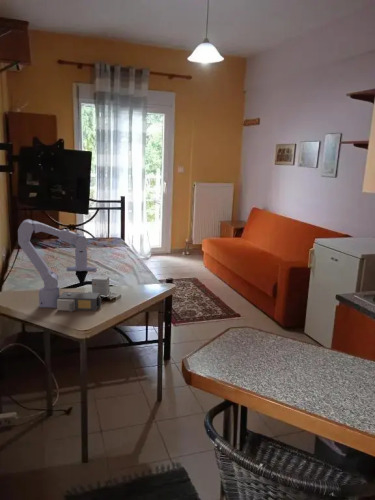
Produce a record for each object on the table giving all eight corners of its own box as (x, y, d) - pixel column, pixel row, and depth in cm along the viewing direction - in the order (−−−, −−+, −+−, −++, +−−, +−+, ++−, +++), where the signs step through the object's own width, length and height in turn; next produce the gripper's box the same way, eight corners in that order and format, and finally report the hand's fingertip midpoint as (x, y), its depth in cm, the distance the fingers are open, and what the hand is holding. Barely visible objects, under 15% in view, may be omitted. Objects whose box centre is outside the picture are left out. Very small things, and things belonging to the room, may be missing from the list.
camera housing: (58, 309, 195) (58, 296, 194) (64, 303, 204) (63, 290, 203) (98, 310, 195) (98, 297, 194) (102, 304, 204) (102, 291, 203)
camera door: (55, 312, 191) (54, 302, 189) (58, 309, 195) (57, 299, 194) (72, 312, 191) (71, 302, 189) (74, 309, 195) (74, 299, 194)
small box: (109, 295, 218) (109, 276, 216) (106, 298, 213) (106, 279, 211) (95, 294, 219) (95, 275, 217) (92, 297, 213) (91, 278, 211)
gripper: (64, 260, 196) (65, 287, 199) (94, 261, 196) (94, 288, 199) (68, 257, 203) (69, 283, 206) (97, 257, 203) (97, 283, 206)
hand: (82, 285), depth 203 cm, fingers closed
